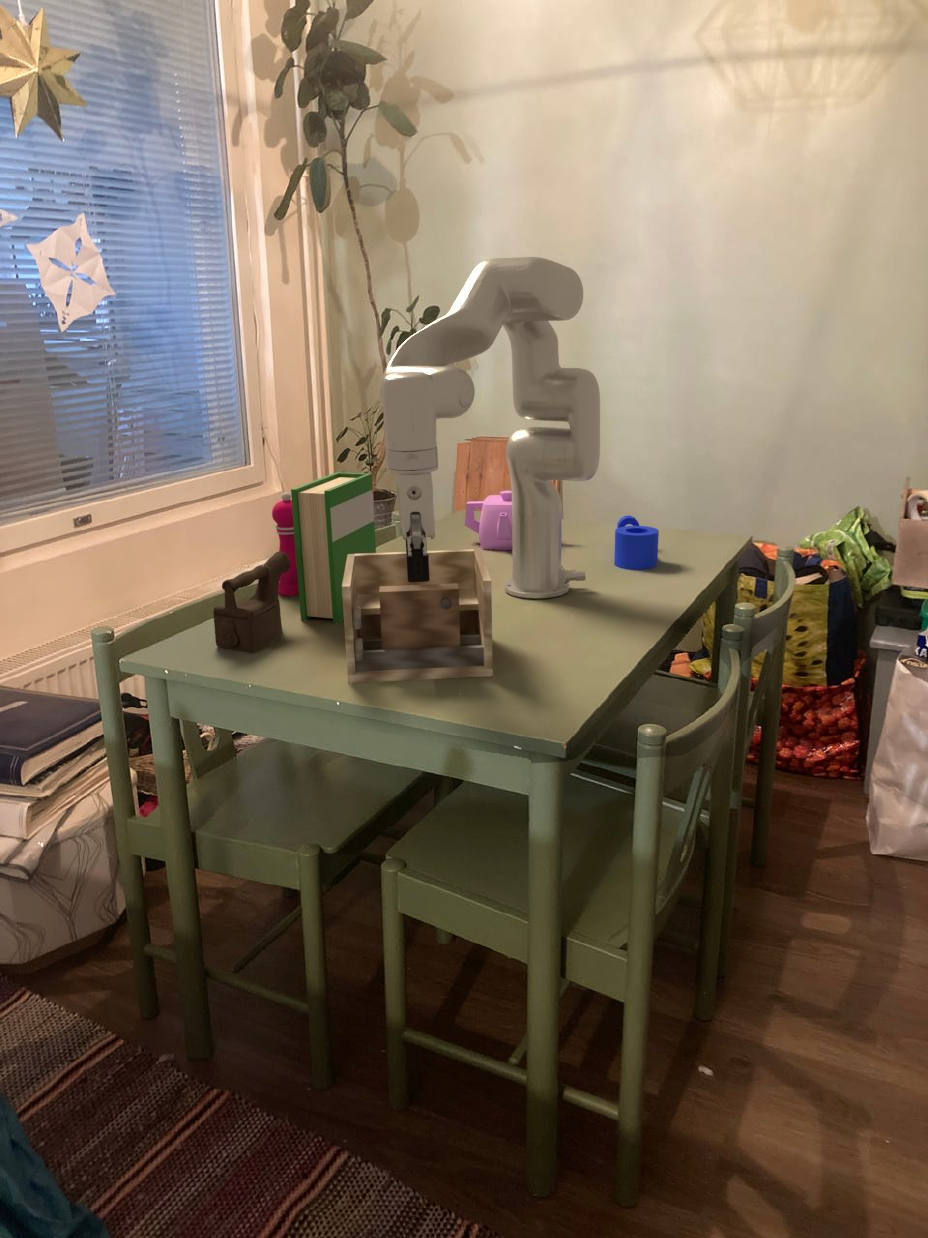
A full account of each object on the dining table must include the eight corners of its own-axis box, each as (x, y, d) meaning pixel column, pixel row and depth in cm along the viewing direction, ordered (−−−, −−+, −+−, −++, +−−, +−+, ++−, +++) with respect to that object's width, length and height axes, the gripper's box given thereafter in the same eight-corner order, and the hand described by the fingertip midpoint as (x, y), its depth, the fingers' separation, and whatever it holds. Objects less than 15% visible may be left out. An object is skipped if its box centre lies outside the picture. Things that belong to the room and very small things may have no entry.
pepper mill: (277, 587, 198) (268, 489, 192) (313, 585, 199) (306, 488, 193) (273, 597, 192) (265, 496, 185) (310, 595, 192) (303, 495, 186)
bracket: (660, 570, 205) (661, 535, 202) (616, 571, 205) (617, 535, 203) (647, 547, 223) (648, 515, 221) (607, 548, 224) (608, 515, 221)
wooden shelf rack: (481, 635, 168) (480, 548, 163) (492, 676, 149) (491, 580, 145) (353, 640, 166) (347, 554, 162) (347, 682, 148) (341, 586, 143)
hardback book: (337, 623, 175) (329, 491, 168) (301, 620, 178) (290, 489, 170) (378, 595, 191) (371, 473, 184) (344, 593, 194) (336, 472, 186)
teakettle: (511, 531, 241) (510, 481, 237) (558, 543, 228) (559, 491, 224) (456, 543, 231) (455, 491, 227) (503, 556, 218) (502, 501, 215)
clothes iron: (307, 626, 174) (301, 553, 170) (251, 655, 161) (244, 576, 157) (270, 621, 178) (264, 549, 174) (213, 648, 164) (205, 571, 160)
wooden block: (459, 656, 155) (457, 583, 151) (461, 665, 151) (459, 591, 147) (383, 659, 154) (379, 586, 150) (382, 669, 150) (379, 594, 146)
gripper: (440, 469, 135) (445, 587, 141) (435, 448, 151) (440, 555, 157) (386, 472, 135) (393, 590, 140) (386, 450, 151) (393, 557, 157)
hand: (417, 571), depth 149 cm, fingers open, 9 cm apart
